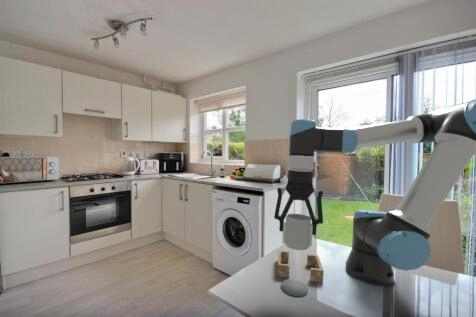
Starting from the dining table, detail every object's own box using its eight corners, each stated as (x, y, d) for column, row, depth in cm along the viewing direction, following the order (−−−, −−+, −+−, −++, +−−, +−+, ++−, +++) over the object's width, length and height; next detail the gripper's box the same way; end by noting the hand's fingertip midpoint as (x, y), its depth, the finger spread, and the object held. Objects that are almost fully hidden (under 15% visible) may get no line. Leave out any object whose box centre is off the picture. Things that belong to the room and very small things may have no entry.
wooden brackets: (317, 265, 87) (318, 255, 87) (322, 282, 76) (323, 270, 76) (278, 260, 90) (278, 250, 90) (277, 275, 79) (277, 264, 78)
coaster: (306, 283, 75) (306, 281, 75) (308, 298, 67) (309, 296, 67) (281, 279, 76) (281, 277, 76) (281, 293, 68) (281, 291, 68)
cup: (287, 250, 66) (289, 219, 66) (280, 237, 76) (282, 210, 76) (312, 251, 66) (314, 220, 66) (302, 238, 76) (303, 211, 76)
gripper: (332, 171, 73) (328, 242, 73) (268, 167, 77) (265, 235, 77) (337, 173, 65) (333, 252, 66) (267, 168, 69) (263, 243, 70)
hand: (296, 243), depth 71 cm, fingers closed on cup, 7 cm apart
